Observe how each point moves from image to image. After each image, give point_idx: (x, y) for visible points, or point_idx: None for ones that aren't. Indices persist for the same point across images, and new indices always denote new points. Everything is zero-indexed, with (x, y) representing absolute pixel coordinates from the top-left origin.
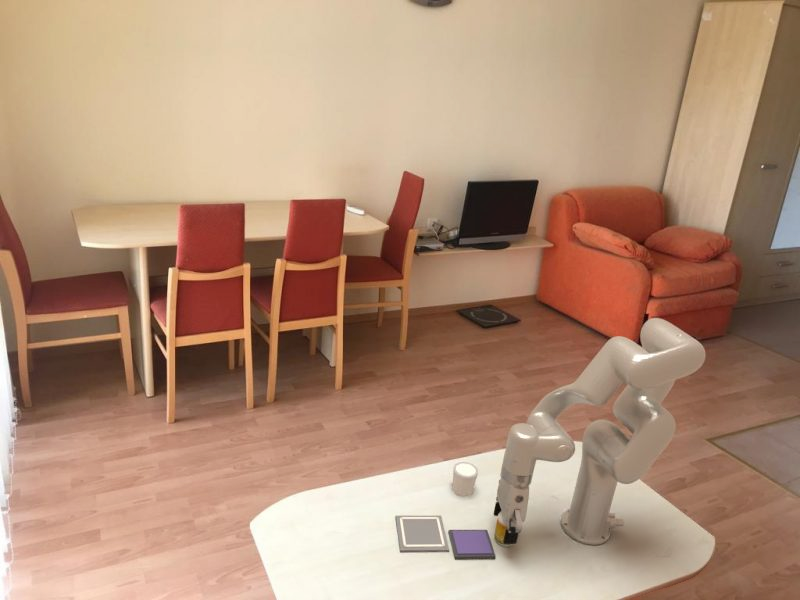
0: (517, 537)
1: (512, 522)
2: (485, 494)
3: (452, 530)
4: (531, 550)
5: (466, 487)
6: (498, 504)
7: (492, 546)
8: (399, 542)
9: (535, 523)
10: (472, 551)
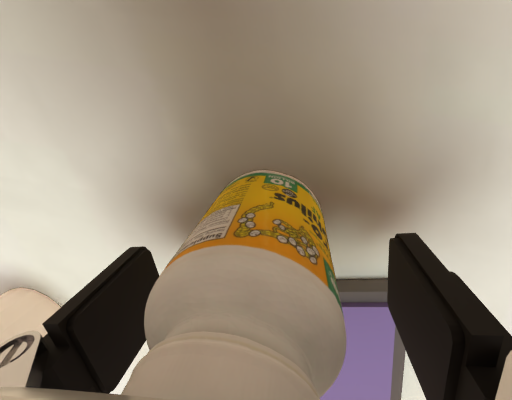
0: (445, 269)
1: (329, 355)
2: (16, 247)
3: None
4: (341, 75)
5: None
6: (106, 386)
7: (340, 292)
8: None
9: (97, 10)
10: (380, 372)
